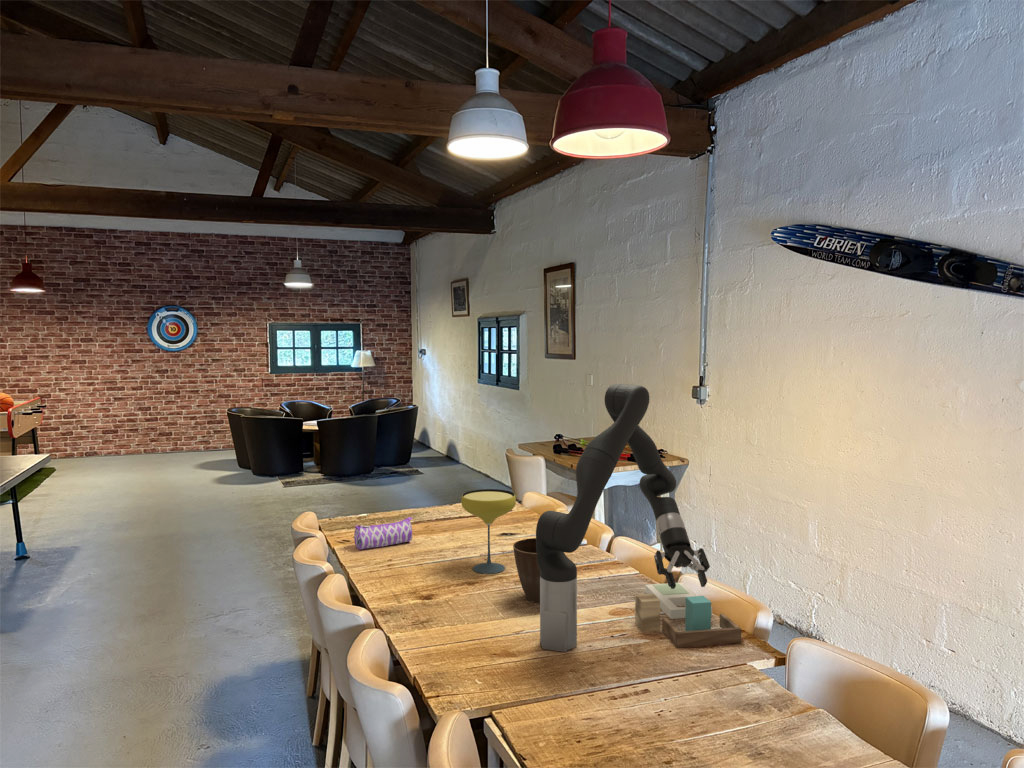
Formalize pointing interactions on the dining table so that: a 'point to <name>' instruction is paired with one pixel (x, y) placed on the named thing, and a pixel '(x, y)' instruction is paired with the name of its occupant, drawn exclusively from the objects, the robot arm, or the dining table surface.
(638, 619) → the beech block
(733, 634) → the walnut tray
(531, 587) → the plant pot
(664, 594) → the cream hole board
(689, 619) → the teal block
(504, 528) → the dining table surface
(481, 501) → the cocktail glass
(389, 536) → the pencil case
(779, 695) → the dining table surface
